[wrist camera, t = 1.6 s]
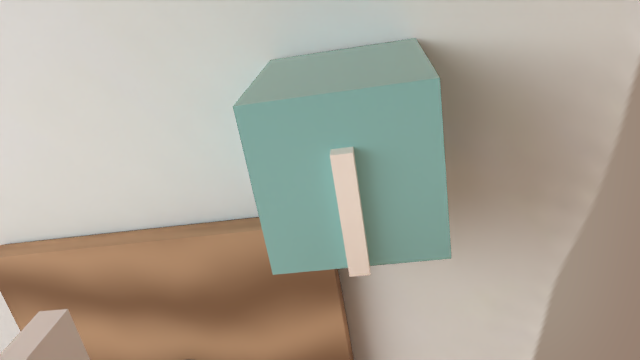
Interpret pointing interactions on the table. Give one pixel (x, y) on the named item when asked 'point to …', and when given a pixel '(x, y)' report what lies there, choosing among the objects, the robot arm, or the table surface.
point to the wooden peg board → (179, 295)
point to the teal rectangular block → (348, 158)
